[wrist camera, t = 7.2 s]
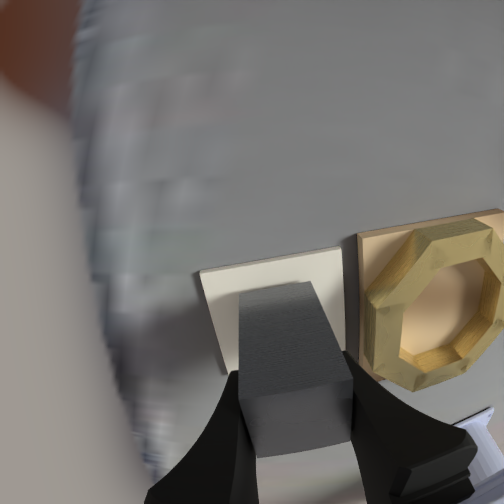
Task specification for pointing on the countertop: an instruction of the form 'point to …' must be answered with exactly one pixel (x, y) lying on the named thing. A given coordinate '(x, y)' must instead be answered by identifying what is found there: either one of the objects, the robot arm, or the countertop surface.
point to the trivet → (268, 276)
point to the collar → (409, 288)
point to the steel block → (291, 372)
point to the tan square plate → (435, 293)
